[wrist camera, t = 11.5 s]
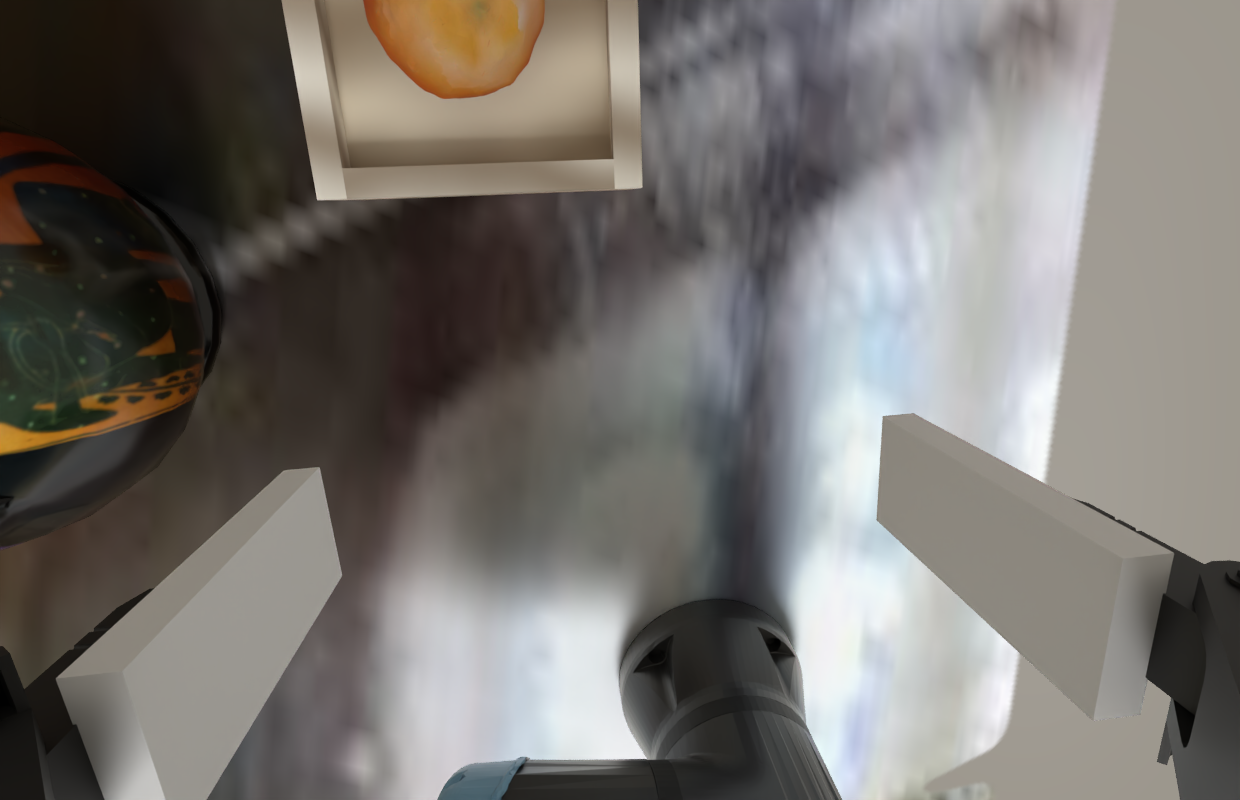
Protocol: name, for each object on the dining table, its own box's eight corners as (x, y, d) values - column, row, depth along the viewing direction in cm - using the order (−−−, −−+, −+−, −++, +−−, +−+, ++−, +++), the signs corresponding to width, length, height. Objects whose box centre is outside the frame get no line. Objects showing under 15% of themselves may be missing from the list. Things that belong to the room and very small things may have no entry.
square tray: (627, 189, 41) (642, 187, 34) (360, 200, 39) (317, 200, 32) (617, -125, 36) (632, -206, 28) (309, -126, 34) (244, -210, 27)
